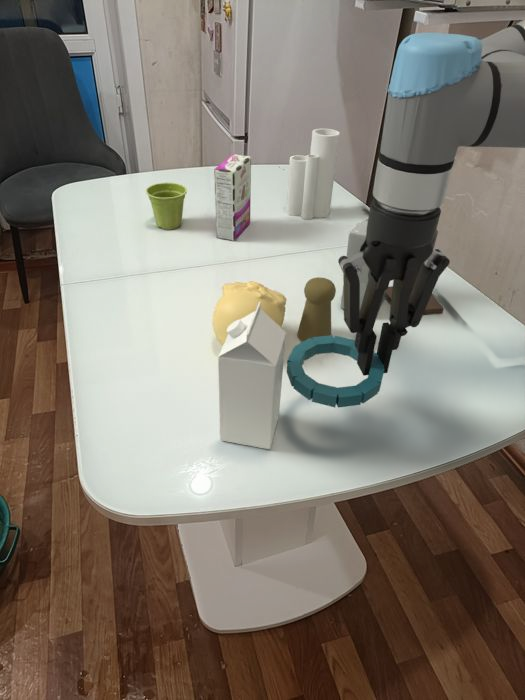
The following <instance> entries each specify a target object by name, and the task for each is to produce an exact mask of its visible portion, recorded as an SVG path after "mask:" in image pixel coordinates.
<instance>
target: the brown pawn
mask: <svg viewBox="0 0 525 700" xmlns="http://www.w3.org/2000/svg"><path fill="white" fill-rule="evenodd" d="M336 289H337V288H336V286H335V284H334V282H333V281H332V280H330V279H328V278H326V277H319V276H317V277H313V278H311V279H309V280H307V282H306V283H305V286H304V289H303V293H304V297H305V303H304V307H303V311H302V314H301V318H300V322H299V326H298V329H297V333H296V335H297V338H298V340H299V341H300V342H301V343H302V342H303V341H305V340H307V339H309V338H311V339H312V337H319V336H329V335H332V301H333V300H334V299H335V297H336V293H337V290H336Z"/></svg>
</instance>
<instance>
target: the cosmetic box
mask: <svg viewBox="0 0 525 700" xmlns="http://www.w3.org/2000/svg"><path fill="white" fill-rule="evenodd" d="M367 223H368V217H367V218H366V217H365V218H363V220H361V222H358V223H356V224H355V227H353V228H352V229H351V230H350V231H349V232H348V240H347V248H346V256H347V257H348V258H349V257H351V256H353V255H355V254H357V253H359V252H360V247H361V245H362V244H363V243H364V241H365V239H366V232H367ZM368 273H369V268H368V266H367V265H366V263H365V262H364V263H363V264H362V271H361V275H359V276H358V277H359V281H360V308H361V305H362V301H363V298H364V294H365V290H366V287H367V283H368ZM385 291H386V290H385ZM384 300H385V292H384V295H383V298H382V301H381V304H382V303H383V302H384ZM340 309H342V310H344V282H343V284H342V293H341V301H340Z"/></svg>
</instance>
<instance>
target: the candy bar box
mask: <svg viewBox="0 0 525 700" xmlns="http://www.w3.org/2000/svg"><path fill="white" fill-rule="evenodd" d="M213 170H214V171H213V172H214V197H215V199H214V200H215V227H216V228H215V229H216V230H215V231H216V238H217V239H220V240H225V241H231V242H236V241H237V239H239V237H240V236H241V234H243V232H244V231H245V230H246V228H247V227H248V226H249V225H250V224H251V196H252V195H251V193H252V191H251V190H252V189H251V188H252V187H251V186H252V156H250V155H243V154H236V153H232V154H230V155H229V156H228V157H227V158H226V159H224V160H223V161H222V162H221V163H220V164H219V165H218V166H216V167H215V168H214V169H213Z"/></svg>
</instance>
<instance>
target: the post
mask: <svg viewBox="0 0 525 700" xmlns="http://www.w3.org/2000/svg"><path fill="white" fill-rule="evenodd" d="M438 234H439V230H438V229H437V230H436V234H435V237H434V239H433V241H432V245H433V249H434V250H435V246H436V242H437V238H438ZM422 265H423V264H422ZM422 265H421V266H420V267H419V268H418V269H417V270H416V271H415V276H414V284H415V282H416V279H417V277H418V274H419V271H420V269H421V267H422ZM414 284H413V287H414ZM413 287H411V290H410V294H411V292H412V289H413ZM392 289H393V285H392V286H390V285H389V286H388V289H387V290H386V291H385V297H384V299H386V301H387V302H388V304H389V305H390V306H391V298H392ZM444 310H445V307H444V306H443V305H442V304H441V302H439V301H438V299H437V297H435V296H434V294H432V295H431V297H430V299H429V302H428V304H427V306H426V309H425V311H424V314H423V316H425V315H427V316H428V315H438V314H443V313H444Z"/></svg>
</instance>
